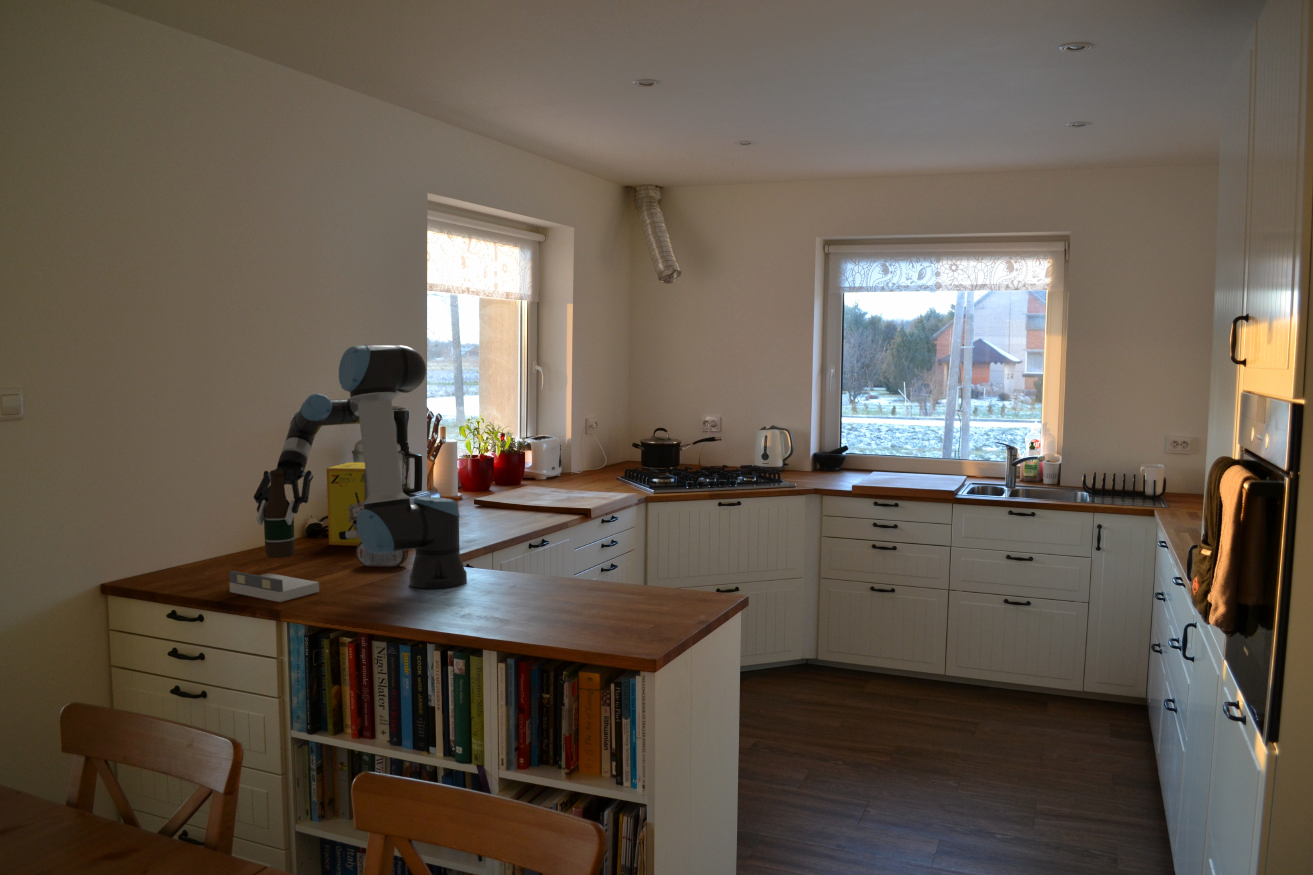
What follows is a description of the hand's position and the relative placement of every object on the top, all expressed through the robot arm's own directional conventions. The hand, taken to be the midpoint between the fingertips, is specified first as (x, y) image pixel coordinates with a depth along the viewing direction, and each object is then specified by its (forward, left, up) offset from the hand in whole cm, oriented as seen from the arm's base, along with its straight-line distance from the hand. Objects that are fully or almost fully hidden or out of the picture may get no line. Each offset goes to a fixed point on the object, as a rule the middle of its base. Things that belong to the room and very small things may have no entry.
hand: (273, 521), depth 265 cm
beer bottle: (+2, -3, -10) cm, 11 cm away
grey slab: (-13, +10, -16) cm, 23 cm away
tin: (-15, -25, -16) cm, 33 cm away
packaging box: (+19, -49, -16) cm, 55 cm away
